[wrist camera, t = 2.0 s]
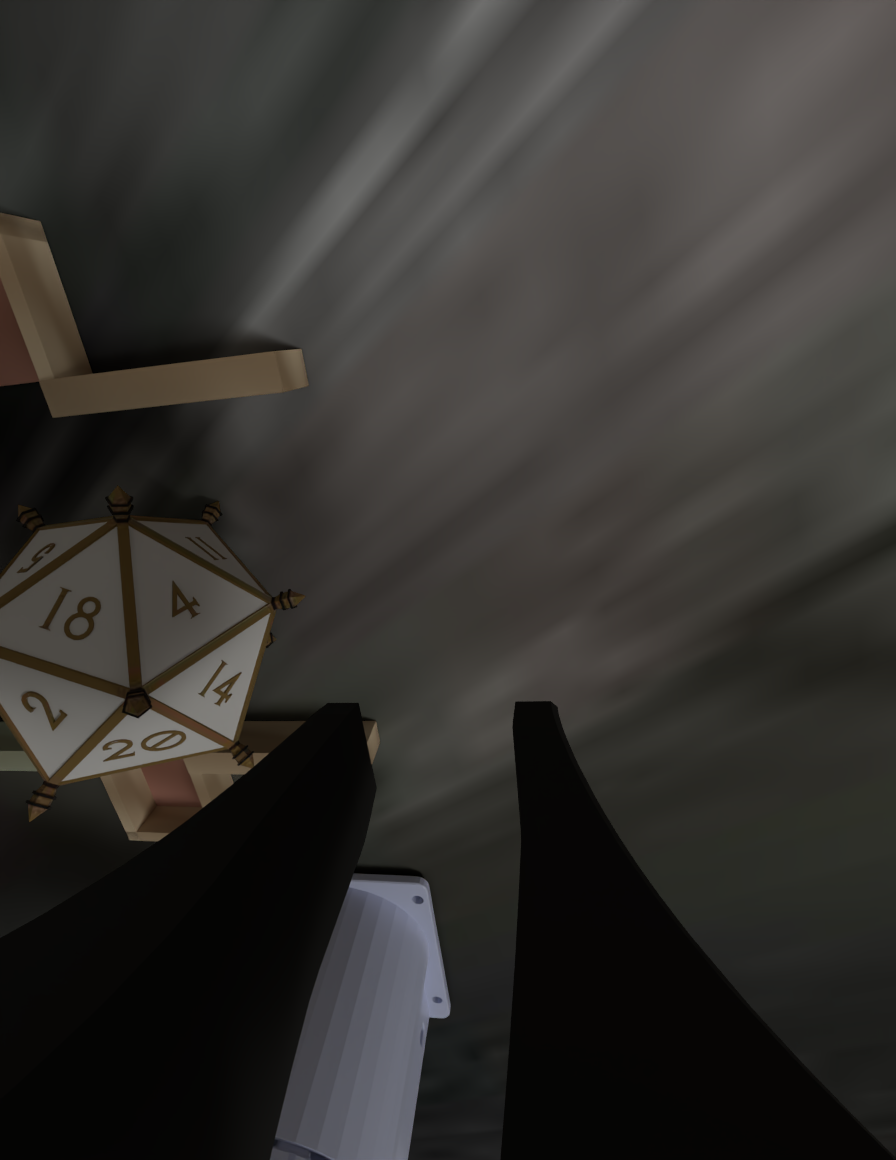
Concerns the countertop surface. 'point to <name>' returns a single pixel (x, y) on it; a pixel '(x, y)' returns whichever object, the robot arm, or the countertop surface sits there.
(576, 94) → the countertop surface
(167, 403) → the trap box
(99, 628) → the game die
